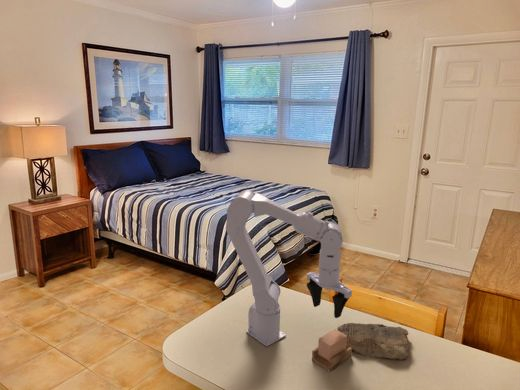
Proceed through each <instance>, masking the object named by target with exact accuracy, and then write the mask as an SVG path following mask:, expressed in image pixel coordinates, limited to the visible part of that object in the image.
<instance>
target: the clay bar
mask: <svg viewBox="0 0 520 390" xmlns="http://www.w3.org/2000/svg"><path fill="white" fill-rule="evenodd" d="M317 343H318V345H317V346H318V354H319V355H321V356H322V357H324V358H326V359H327V360H329V361H330V360H331V359H333V358H334V357H336V356H337V355H339V354H340V353H342V352H343V351H345V350H346V349H347V347H346V344H347V335H345V334H343V333H341V332H340V331H338V330H337V329H336V328H335V329H333V330H332V331H329V332H328V333H326V334H325V335H323V336H321V337H319V338H318V342H317Z"/></svg>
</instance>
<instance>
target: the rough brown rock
mask: <svg viewBox="0 0 520 390" xmlns="http://www.w3.org/2000/svg"><path fill="white" fill-rule="evenodd" d="M336 330H338V331H340V332H341V333H343V334H345V335H347V344H346V348H347V349H348V348H349V347H351V348H352V351H353V352H355V353H357V354H361V355H365V356H367V357H376V358H380V359H381V358H385V359H392V360H394V359H397V360H406V359H407V358H408V356H409V348H408V347H409V343H410V342H409V340H408V335H409V331H408V330H407V329H406V328H403V327H401V326H387V325H384V324H381V323H380V324H379V323H360V322H359V323H355V322H348V323H343V324H341V325H339V326H337V329H336Z"/></svg>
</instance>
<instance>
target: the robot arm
mask: <svg viewBox="0 0 520 390" xmlns="http://www.w3.org/2000/svg"><path fill="white" fill-rule="evenodd" d="M252 214H253V218H257V217H261V216H264V215H267V216H269V217H272V218H274V219H276V220H280V221H282V222H284V223H287V224H289V225H291V226H293V229H294V230H295V231H294V232H297V233H299V234H301V235H303V236H305V237H308V238H310V239H312V240H315V241H316V242H317V241H318V242H320V249H319V260H318V262H319V263H318V273H316V272H313V271H310V272H308V273H307V274H306V280H307V281H309V282H307V283H306V287H307V289H308V292H309V294H310V296H311V300H312V304H313V307H314V308H317V307H319V306H320V305H321V301H322V291H323V289H325V290H329V291H333V292H336V293H337V294H335V295H333V296H331V298H332V300H333V306H334V307H333V315H334V318H335V319H338V318H340V317H342V313H343V310H344V308H345V306H346V304H347V302H348V300H350V298H352V297H353V289H351V288H349V287H347V286H346V285H345V284H344V283H342V282H341V278H340V272H341V271H340V270H341V259H342V258H341V255H342V253H341V252H342V251H341V249H342V245H343V242H344V239H343V234H342V229H341V227H340V226H339V225H338V224H337V223H335V221H328V220H322V219H320V218H319V217H316V216H314V213H313V212H311V211H308V213H307V212H305V211H304V212H299V213H296V212H294V211H293V210H291V209H289V208H287V207H286V206H283V205H281V204H279V203H277V202H276V201H273V200H271V199H269V198H267V197H265V196H264V195H263V194H261V193H257V192H256V193H255V192H254V191H252V190H249V189H244V190H242V191H240V192H239V193H238V195H237V196H236V197H235V198H233V199H232V200H231V202H230V204H229V205H228V207H227V209H226V222H225V224H226V225H225V230H226V232H227V235H228V237H229V239H230V241H231V243H232V246H233V247H234V249H235V252H236V254H237V255H238V258H239V259H240V262H241V264H242V266H243V268H244V270H245V273H246V275H247V276H248V278H249V281H250V283H251V287H252V289H251V290H252V296H253V299H254V302H253V303H251V305H250V307H249V309H248V317H247V318H248V325H247V327H248V329H246V331H245V332H246V334H248V335H250V336H251V337H252V338H254V339H255V340H257V341H258V342H259V343H261V344H262V345H263V346H265V347H268V346H270V345H272V344H274V343H277V341H279V340H281V339H283V338H285V337H287V335H286V333H284V332H283V331H281V329H280V328H281V306H280V303H279V297H280V295H281V288H280V285H278V283H277V282H276V281H274V279H273V278H272V276H271V275H269V274H268V272H267V270H266V268H265V267H264V264H263V262H262V259H261V258H260V255H259V253H258V251H257V249H256V248H255V245H254V243H253V241H252V239H251V236H250V234H249V232H248V230H247V228H246V224H247V223H248V220H249V218H250V217H252Z"/></svg>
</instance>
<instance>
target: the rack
mask: <svg viewBox="0 0 520 390" xmlns="http://www.w3.org/2000/svg"><path fill="white" fill-rule="evenodd" d="M352 351H353V350H352V348H351V347H349V348H348V347H347V348H346V350H345V351H343V352H342V353H340V354H339V355H337V356H336V357H334V358H333V359H331V360H330V361H329V360H327V359H326V358H324V357H322V356H321V355H319V354H318V347H315V348H314V349H312V352H311V354H312V355H311V360H312V361H313V362H315V363H317V364H318V365H319V366H321V367H322V368H324V369H326V370H327V371H328V372H331V371H333V370H335V369H336V368H337V367H339V366H341V364H343V363H345V362H346V361H348V360H349V359H350V358H352Z"/></svg>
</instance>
